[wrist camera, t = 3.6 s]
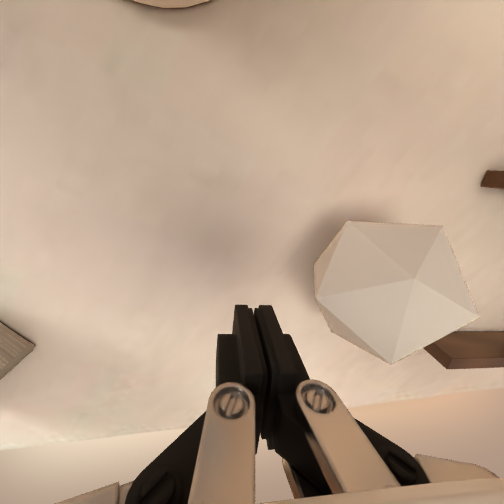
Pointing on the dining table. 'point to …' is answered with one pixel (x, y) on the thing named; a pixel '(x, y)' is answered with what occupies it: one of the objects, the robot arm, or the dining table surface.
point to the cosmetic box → (11, 349)
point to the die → (392, 287)
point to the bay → (472, 343)
